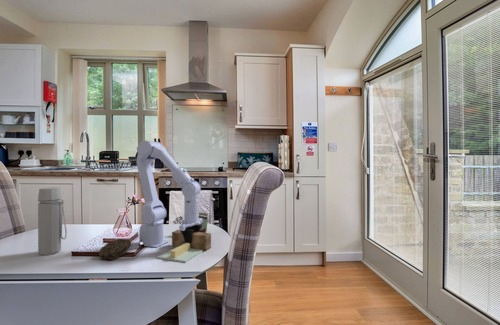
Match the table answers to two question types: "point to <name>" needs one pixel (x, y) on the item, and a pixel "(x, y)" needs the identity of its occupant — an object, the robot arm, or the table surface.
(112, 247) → the dark brown rock
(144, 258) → the table surface
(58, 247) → the water bottle
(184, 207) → the robot arm
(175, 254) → the ridge stand
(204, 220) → the food container
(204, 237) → the walnut bar
